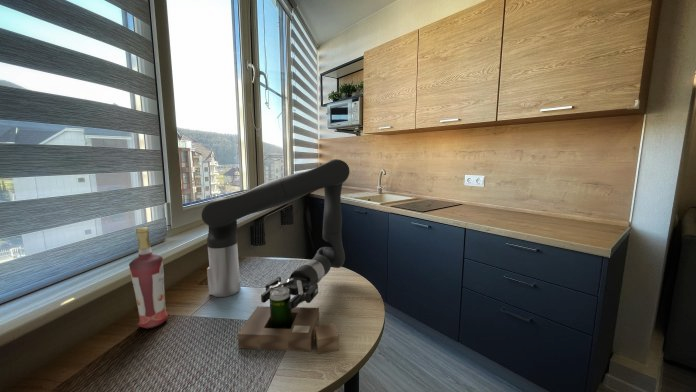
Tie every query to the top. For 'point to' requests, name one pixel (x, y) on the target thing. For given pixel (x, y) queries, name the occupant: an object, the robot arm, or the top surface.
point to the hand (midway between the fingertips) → (275, 302)
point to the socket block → (279, 331)
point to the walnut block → (326, 338)
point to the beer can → (280, 308)
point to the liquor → (148, 283)
